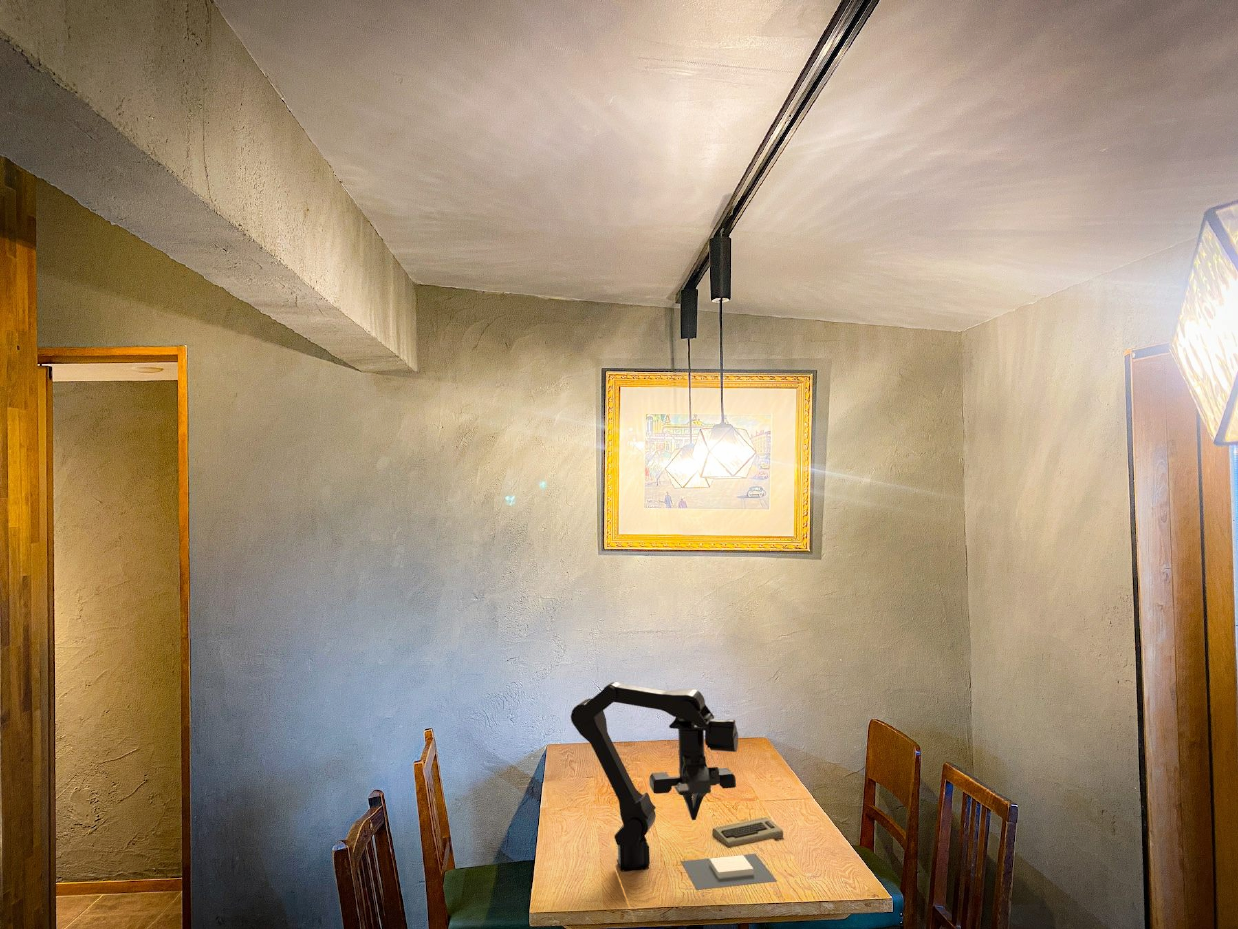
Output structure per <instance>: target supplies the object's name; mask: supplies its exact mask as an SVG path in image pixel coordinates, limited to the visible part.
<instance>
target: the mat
mask: <svg viewBox="0 0 1238 929" xmlns="http://www.w3.org/2000/svg"><path fill="white" fill-rule="evenodd" d="M739 855H740V854H739ZM739 855H735V856H739ZM742 855H743V856H744V857H745V858H746V860H747V861H748V862H749V863H750V865H751V866H752V867H753V871H754V876H746V877H737V878H727V879H718V878H717V876H716V875H715V873H714V872H713V870H712V868H711V867H710V864H709V858H710V857H709V858H700V859H688V860H687V859H686V860H681V861H680V863H681V865H682V867H683V869H684V870H685V872H686V874H687V875H688V878H689V879H690V881H691V883H692V884H693V886H694V888H695V890H696V891H699V890H700V891H701V890H709V889H718V888H729V887H730V888H731V887H738V886H746V885H747V886H748V885H754V884H755V885H756V884H764V883H765V884H767V883H775V882H778V880H777V879H776V877H775V876H774V875H773V874H772V873H771V871H770V869H768V868H767V866H766V865H765V864H764V862H763V861H762V860H761V859H760V858H759V856H758V855H757V853H748V854H742ZM729 856H730V855H728V856H726V857H729ZM719 857H720V856H718V857H716V858H719Z"/></svg>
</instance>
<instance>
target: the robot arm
mask: <svg viewBox="0 0 1238 929" xmlns="http://www.w3.org/2000/svg"><path fill="white" fill-rule="evenodd" d="M614 703H617V704H624V705H630V706H635V707H639V708H640V707H641V708H648V709H654V710H658V711H659V710H660V711H662V712H665V713H667V714H668V715H670V716H672V717H674V718H675V719H674V720H673V721H672V722H671V723H670V724H669V725H668V728H669V729H676V730H678V731H677V732H678V736H677V737H678V751H677V752H678V762H679V763H678V764H679V765H678V766H679V767H678V774H679V776H678V775H677V776H669V773H668V772H666V771H665V772H663V771H662V772H652V773H651V774H650V776H649V777H648V778H649V787H650V789H651V790H652V792H653V794H656V795H659V794H669V792H671V791H672V788H674V790H676V793H677V794H678V795H679V796H682V797H683V799H684V803H685V804H686V809H687V811H688V813H689V816H690V819H691V821H696V820H697V817H698V814H699V810H700V807H701V804H702V801H703V799H704V798H705V796H706V795H707V794H711V793H712V790H711V789H712V786H717V785H719V786H720V787H721V788H722V789H734V788H735V789H736V787H737V780H736V776H735V774H734V773H733V772H732V771H731V770H730V769H729V768H728V767H720V768H719V767H718V766H707V760H706V755H705V745H706V746H707V749H709V750H710V751H716V752H717V751H718V752H728V753H729V752H731V753H737V752H738V751H737V750H738V748H739V747H738V746H739V732H738V728H737V725H736V719H733V718H732V719H731V718H729V719H728V718H727V719H717V718H715V715H714V714H713V713H712V711H711V710H710V708H709V706H707V705H706V700H705V697H704V696H703V694H702V693H701V692H700V691H699V690H697V689H694V688H693V689H692V688H689V689H685V688H684V689H674V690H663V689H655V688H649V687H644V686H637V685H629V684H624V683H620V682H618V681H612V682H610V683H608V684H607V685H606V686H605V687H603V689H602V690H601V691H600V692H598V693H597V694H596V695H595V696H593V698H587V699H584V700H582V702H580V703H578V704H577V705H576V706H574V707H573V708H572V710H571V714H570V721H571V723H572V725H573V727H575V729H576V730H577V733H579V735H580V736H581V737H582V738H584V739H585V740H586V741H587V742H588V743H590V746H591V747H592V749H593V751H594V753H595V755H596V757H597V760H598V762H599V763H600V766H601V768H602V769H603V772H604V774H605V776H606V778H607V780H608V782H609V784H610V786H611V788H612V790H613V792H614V794H615V796H616V798H617V800H618V806H619V814H620V819H621V821H622V826H620V828H619V829H618V831H617V832H616V833H615V834H614V836H613V837H614V840H615V843H616V845H617V858H616V863H617V865H618V867H619V870H620V872H622V873H626V872H636V871H644V870H649V869H650V867H649V865H650V863H651V862H650V860H651V859H650V845H649V844H648V839H647V837H646V835H647V833H648V832H649V830H650V829H651V828H652V826H653V825H654V823H655V821H656V817H657V815H656V811H655V810H656V808H657V807H656V806H655V805H654V803H653V802H652V800H651V797H650V794H649V793H648V792H647V791H646V792H645V793H641V792H639V791H638V789H637V788H636V787H635V784H634V782H633V781H632V779H631V776H630V775H629V773H628V770H627V768H626V767H625V765H624V763H623V761H622V759H621V757H620V755H619V752H618V751H617V748H616V747H615V745H614V743H613V741H612V738H611V737H610V735H609V732H608V725H607V718H606V715H605V711H604V710H606V709H607V708H608V707H610V705H612V704H614Z"/></svg>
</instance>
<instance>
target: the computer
mask: <svg viewBox="0 0 1238 929" xmlns="http://www.w3.org/2000/svg"><path fill="white" fill-rule="evenodd" d="M711 831H712V832H711V836H713V837H714V838H715V839H717V840H718V841H719V842H721V843H722V844H723V845H725V846H726V847H728V848H732V847H737V846H740V845H746V844H749V843H754V842H755V843H756V842H759V841H765V840H769V839H772V840H777V839H782V838H783V837H784V831H783V829H782V827H780V826H778V825H777V823H775V822H774V821H773V820H772V819H771V818H768V817H767V816H764V817H758V818H753V819H750V820H749V819H748V820H745V821H740V822H735V823H730V824H726V825H721V826H716V827H713V828H712V830H711Z"/></svg>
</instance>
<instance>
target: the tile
mask: <svg viewBox="0 0 1238 929" xmlns="http://www.w3.org/2000/svg"><path fill="white" fill-rule="evenodd" d="M743 855H744V854H739V856H736V855H728V856H729V857H727V856H718V857H719V858H717V857H709V864H710V867H711V868H712V870H713V872H714V873H715V875H716V876H717V878H718V879H727V878H737V877H746V876H754V871H753V867H752V866H751V865H750V863H749V862H748V861H747V860H746V858H745V857H744V856H743Z"/></svg>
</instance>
